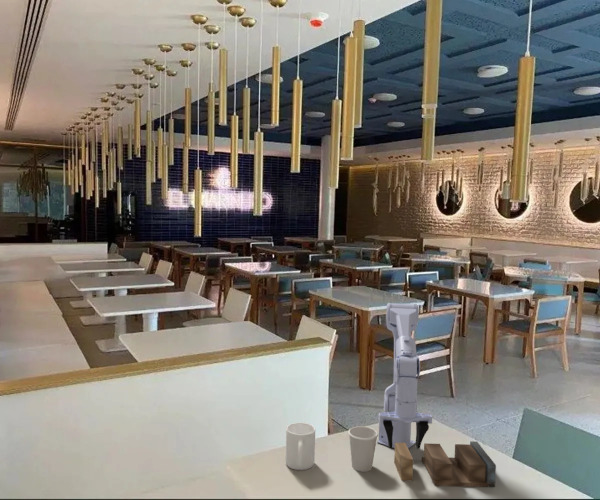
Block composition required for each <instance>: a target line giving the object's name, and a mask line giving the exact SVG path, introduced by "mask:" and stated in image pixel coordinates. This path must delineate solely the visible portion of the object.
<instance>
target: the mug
mask: <svg viewBox="0 0 600 500" xmlns="http://www.w3.org/2000/svg"><path fill="white" fill-rule="evenodd" d="M285 434H286V435H285V465H286V466H287V467H288V468H289V469H291V470H295V471H305V470H310V469H311V468H312V467H313V466H314V464H315V461H316V460H315V459H316V457H315V456H316V455H315V454H316V451H315V450H316V427H315V426H314V425H312V424H310V423H305V422H293V423H290V424H288V425H287V426H286V430H285Z"/></svg>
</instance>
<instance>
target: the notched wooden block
mask: <svg viewBox="0 0 600 500" xmlns="http://www.w3.org/2000/svg"><path fill="white" fill-rule="evenodd" d="M469 443H470V444H464V443H462V444H456V443H455V444H454V457H448V454H447V453H446V452H445V450H444V449H443V446H442V445H441V444H440V443H425V442H424V444H423V456H422V457H421V462H422V465H423V466H424V468H425V470H426V471H427V473H428V475H429V478H430V479H431V481H432V483H433V485H434V486H437V487H439V486H440V487H442V486H443V487H479V488H481V486H482V488H484V487H485V488H486V487H487V488H495V487H496V472H497V471H496V470H497V465H496V463H495V462H494V460H492V458H491V457H490V456H489V454H487V452H486V451H485V449H484V448H483V447H482V446H481V444H480V443H479V442H478V441H471V440H470V442H469ZM488 486H489V487H488Z"/></svg>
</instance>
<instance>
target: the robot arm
mask: <svg viewBox="0 0 600 500" xmlns="http://www.w3.org/2000/svg"><path fill="white" fill-rule="evenodd" d="M385 311H386V317H385V318H386V328H387V330H389V331H390V332H391V333H392V335H393V383H392V384H391V385H389V386H387V387H386V388H385V390H384V396H383V412H378V422H379V423H378V440H376V443H378V444H381V445H383V446H387V447H388V448H389V449H395V443H406V445H407V447H408V449H410V448H411V447H413V446H414V445H415V447H416V449H417V450H420V449H421V445H422V443H423V439H424V437H425V435H426V433H428V431H429V428H430V425H432V424H433V416H432V414H430V413H429V414H428V413H421V412H418V411H417V410H418V401H417V397H418V396H417V395H418V379H419V378H420V375H421V361H420V357H419V354H417V344H416V343H417V342H416V340H415V339H414V338H413V337H412V332H414V331H416V328H417V325H418V322H419V316H420V312H419V311H420V309H419V305H418V304H417V303H396V302H395V303H394V302H393V303H391V302H387V304H386V310H385ZM412 423H415V426H416V427H415V429H416V432H415V441H414V440H412V439H411V438H412V437H411V435H412ZM429 424H430V425H429Z"/></svg>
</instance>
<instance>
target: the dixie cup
mask: <svg viewBox="0 0 600 500" xmlns="http://www.w3.org/2000/svg"><path fill="white" fill-rule="evenodd" d="M347 433H348V435H349V447H350V457H351V459H350V460H351V461H350V462H351V467H352V468H353V469H354V470H355V471H356V472H362V473H363V472H369V471H371V470H372V469H373V464H374V458H375V451H376V444H377V441H378V440H377V439H378V438H379V431H377V430H375V428H373V427H369V426H361V425H360V426H354V427H351V428H349V430H348V432H347Z"/></svg>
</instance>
